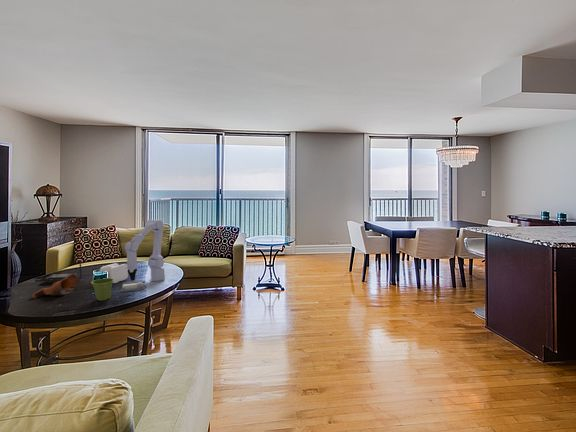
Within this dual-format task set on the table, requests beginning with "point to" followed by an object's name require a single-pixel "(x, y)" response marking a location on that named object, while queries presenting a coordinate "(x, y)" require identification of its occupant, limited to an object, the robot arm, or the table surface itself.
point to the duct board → (133, 288)
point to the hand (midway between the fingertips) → (132, 280)
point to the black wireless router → (61, 276)
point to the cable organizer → (116, 272)
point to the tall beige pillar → (133, 285)
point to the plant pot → (103, 288)
